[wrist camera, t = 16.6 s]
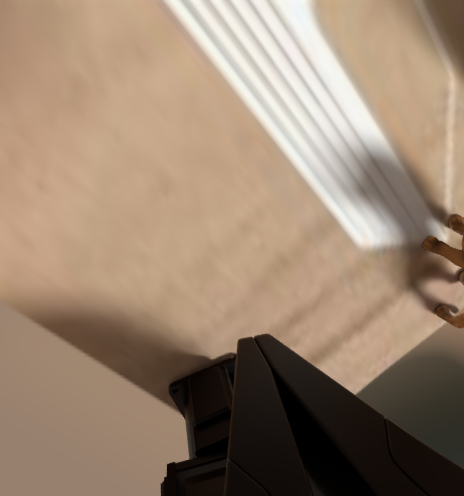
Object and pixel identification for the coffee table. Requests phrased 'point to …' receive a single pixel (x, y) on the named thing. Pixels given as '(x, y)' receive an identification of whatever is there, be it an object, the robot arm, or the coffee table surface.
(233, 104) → the coffee table surface
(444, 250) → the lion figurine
